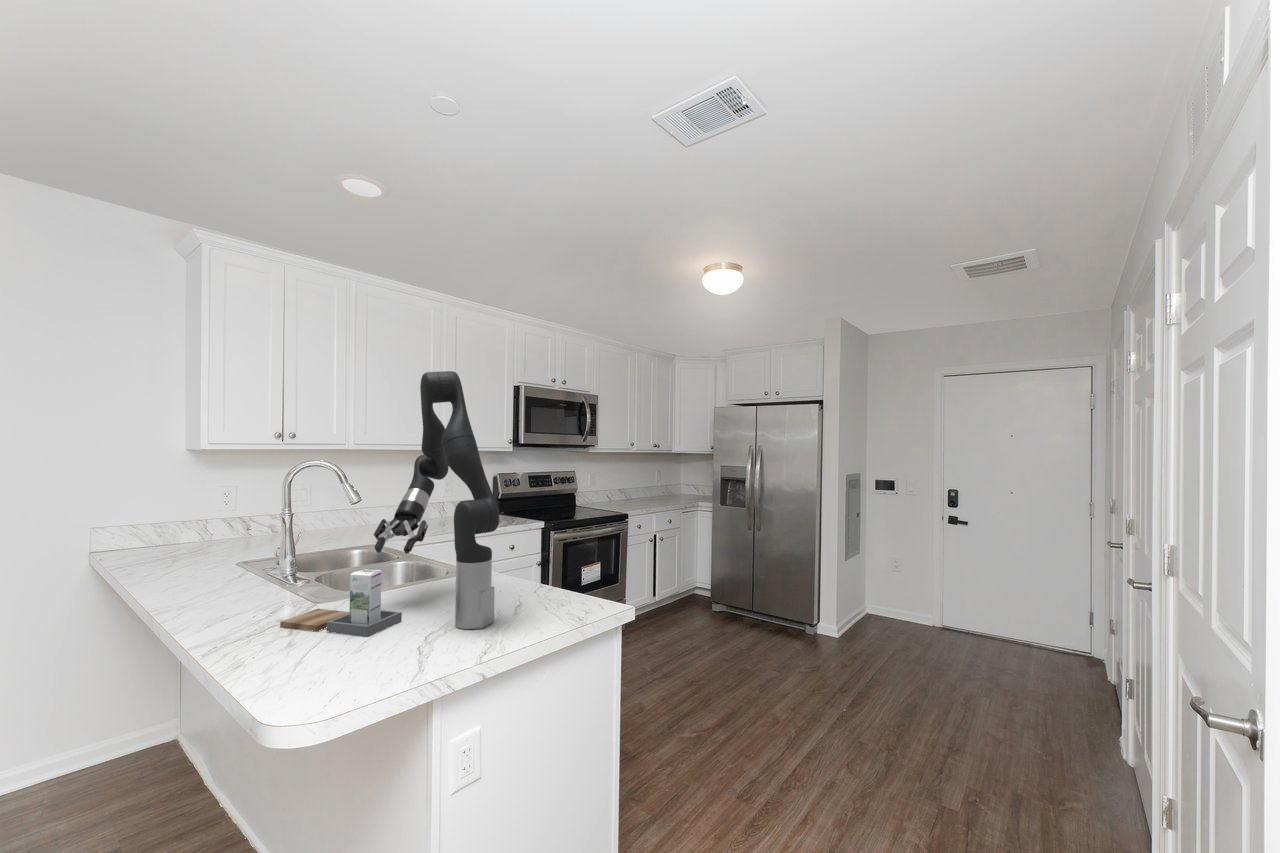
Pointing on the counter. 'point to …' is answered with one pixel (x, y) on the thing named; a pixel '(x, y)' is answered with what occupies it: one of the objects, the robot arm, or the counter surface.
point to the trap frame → (345, 627)
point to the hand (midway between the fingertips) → (391, 551)
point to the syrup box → (365, 597)
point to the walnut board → (312, 619)
